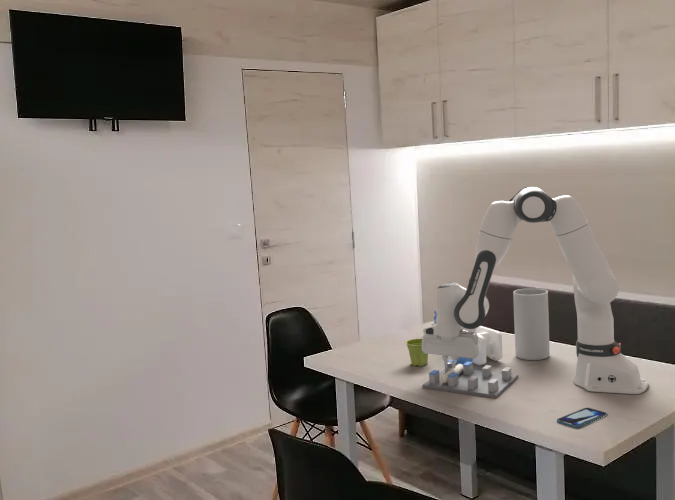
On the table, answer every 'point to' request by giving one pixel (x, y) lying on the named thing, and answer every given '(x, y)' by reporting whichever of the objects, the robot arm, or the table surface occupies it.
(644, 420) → the table surface
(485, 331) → the cable organizer
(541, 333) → the cylinder vase
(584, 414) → the smartphone
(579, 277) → the robot arm
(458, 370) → the white capsule
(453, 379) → the grey peg board
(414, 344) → the plant pot
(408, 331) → the table surface
